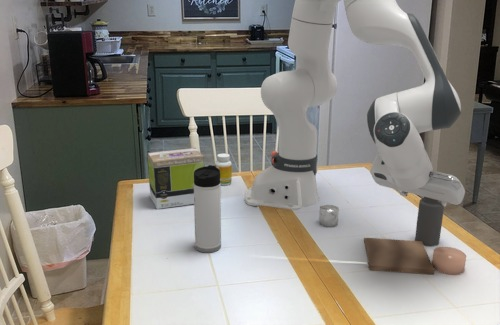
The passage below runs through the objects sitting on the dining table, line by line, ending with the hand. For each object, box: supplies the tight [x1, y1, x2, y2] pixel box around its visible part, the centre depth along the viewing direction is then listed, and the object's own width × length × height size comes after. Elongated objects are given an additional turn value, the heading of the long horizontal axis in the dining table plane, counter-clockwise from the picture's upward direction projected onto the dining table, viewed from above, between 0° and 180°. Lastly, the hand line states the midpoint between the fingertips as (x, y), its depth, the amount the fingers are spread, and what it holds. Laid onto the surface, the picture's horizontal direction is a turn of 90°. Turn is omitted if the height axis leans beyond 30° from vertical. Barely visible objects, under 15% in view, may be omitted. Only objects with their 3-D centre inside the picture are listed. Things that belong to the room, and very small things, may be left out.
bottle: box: [414, 196, 445, 247], centre depth 127 cm, size 6×6×15 cm
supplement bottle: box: [214, 153, 233, 186], centre depth 166 cm, size 5×5×10 cm
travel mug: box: [193, 164, 222, 254], centre depth 121 cm, size 6×7×20 cm
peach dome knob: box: [431, 246, 467, 276], centre depth 116 cm, size 7×7×4 cm
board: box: [363, 237, 435, 275], centre depth 120 cm, size 14×14×1 cm
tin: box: [318, 204, 340, 228], centre depth 136 cm, size 5×5×5 cm
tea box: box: [147, 147, 206, 210], centre depth 150 cm, size 15×10×15 cm, turn 111°
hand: (423, 198), depth 121 cm, fingers open, 8 cm apart
